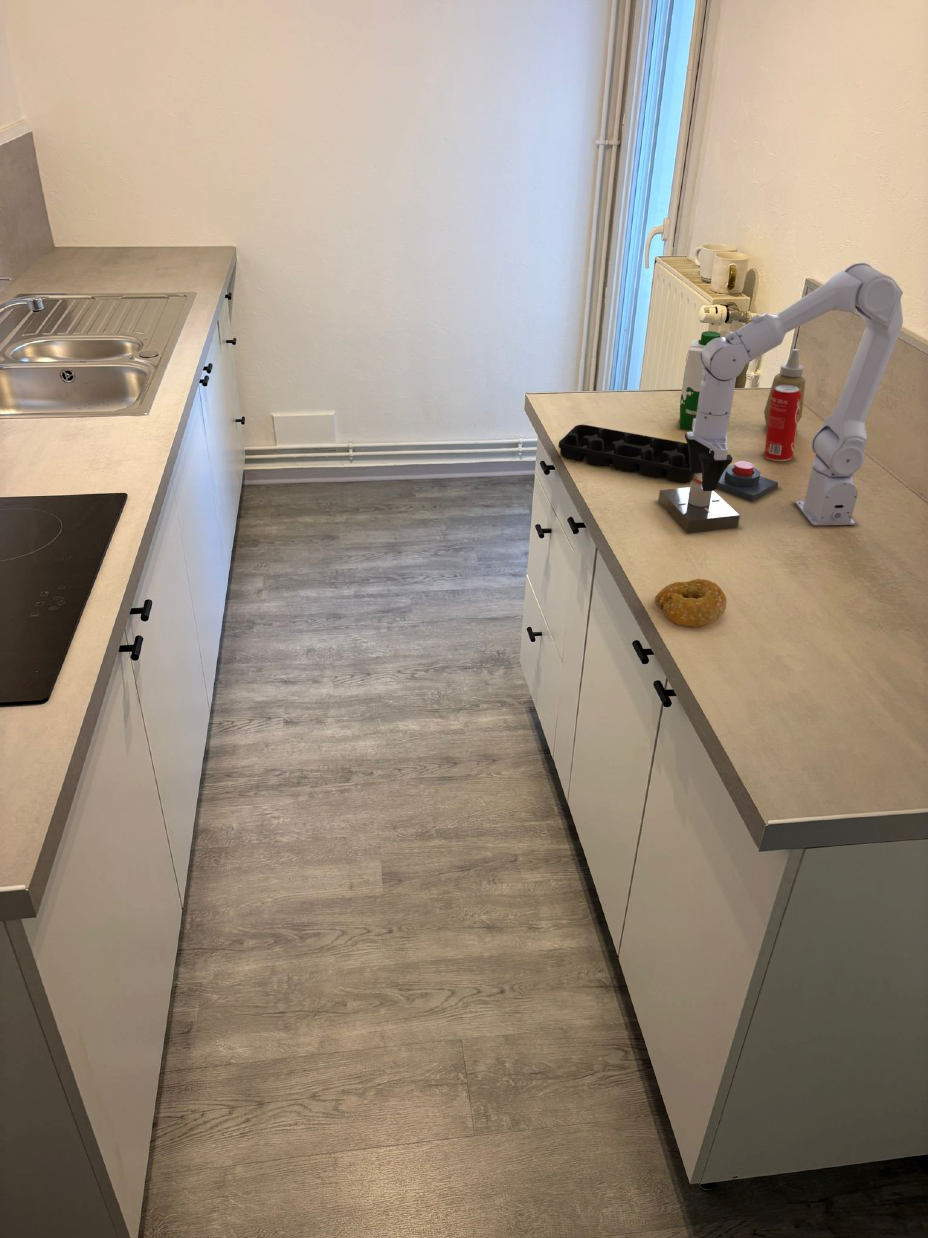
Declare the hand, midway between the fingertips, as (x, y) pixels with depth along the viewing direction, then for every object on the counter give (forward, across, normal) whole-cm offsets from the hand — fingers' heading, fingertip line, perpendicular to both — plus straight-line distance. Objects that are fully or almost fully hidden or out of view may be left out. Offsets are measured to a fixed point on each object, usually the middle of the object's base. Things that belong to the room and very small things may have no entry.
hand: (702, 481), depth 175 cm
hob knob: (+4, 0, 0) cm, 4 cm away
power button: (+4, -12, +12) cm, 17 cm away
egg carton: (+7, -25, -7) cm, 27 cm away
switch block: (+7, -12, +12) cm, 18 cm away
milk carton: (+7, -44, +12) cm, 46 cm away
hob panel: (+7, 0, 0) cm, 7 cm away
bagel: (+7, +33, -11) cm, 36 cm away
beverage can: (+7, -26, +24) cm, 36 cm away
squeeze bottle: (+7, -41, +30) cm, 51 cm away
